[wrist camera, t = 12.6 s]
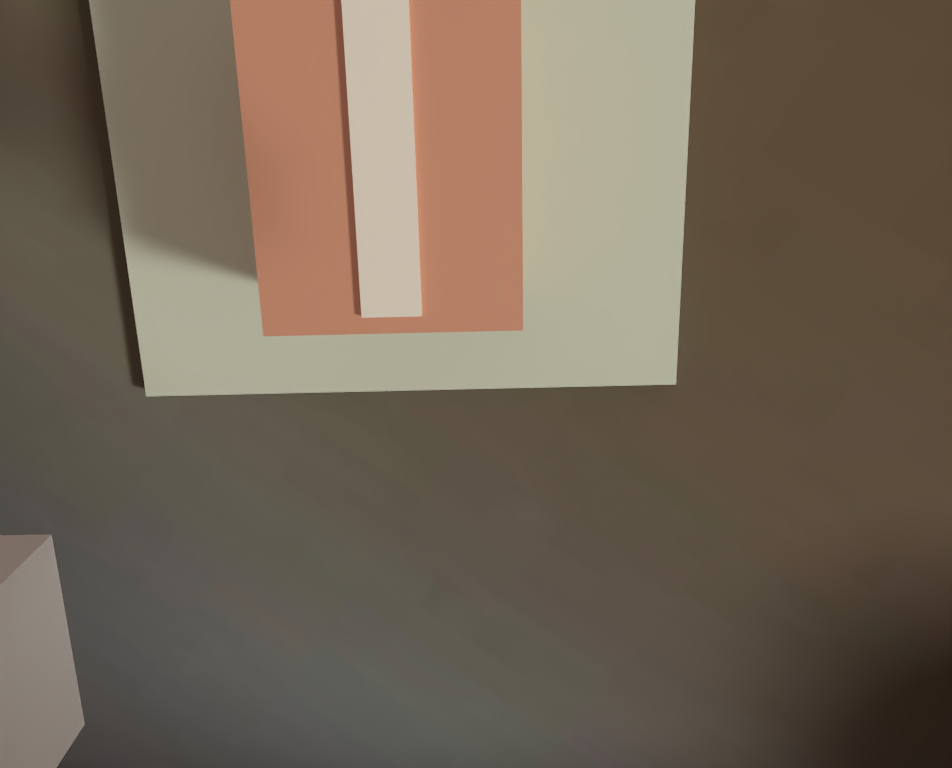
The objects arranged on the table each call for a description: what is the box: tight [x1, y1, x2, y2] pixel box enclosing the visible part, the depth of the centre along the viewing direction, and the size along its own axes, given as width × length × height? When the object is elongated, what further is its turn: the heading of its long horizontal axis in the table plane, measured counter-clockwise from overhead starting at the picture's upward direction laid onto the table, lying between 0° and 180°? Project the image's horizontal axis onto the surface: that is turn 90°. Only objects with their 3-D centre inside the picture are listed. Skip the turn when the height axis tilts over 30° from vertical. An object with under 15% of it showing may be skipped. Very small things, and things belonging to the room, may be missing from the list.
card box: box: [230, 0, 523, 336], centre depth 25 cm, size 9×7×6 cm
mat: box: [89, 0, 695, 396], centre depth 28 cm, size 18×16×1 cm
